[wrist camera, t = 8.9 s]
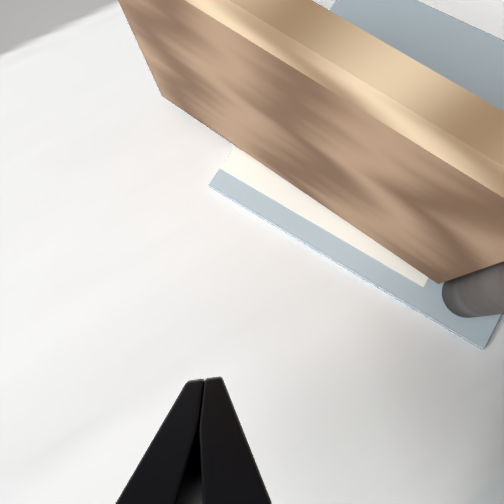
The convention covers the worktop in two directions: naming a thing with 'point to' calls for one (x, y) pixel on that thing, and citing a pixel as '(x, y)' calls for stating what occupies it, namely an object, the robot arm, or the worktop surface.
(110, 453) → the worktop surface
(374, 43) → the fence swing panel
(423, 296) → the card
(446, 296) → the panel
